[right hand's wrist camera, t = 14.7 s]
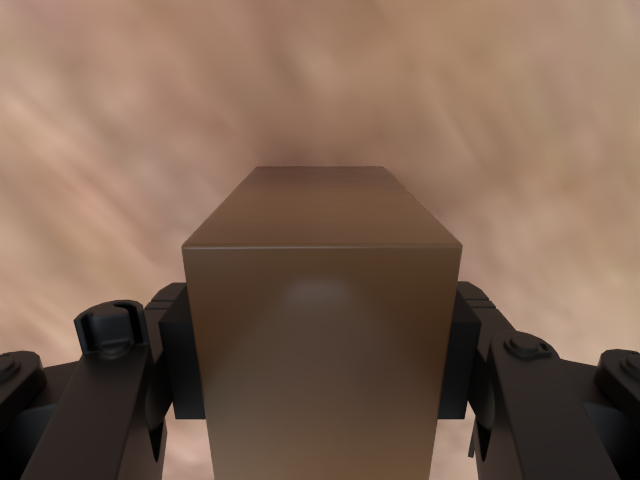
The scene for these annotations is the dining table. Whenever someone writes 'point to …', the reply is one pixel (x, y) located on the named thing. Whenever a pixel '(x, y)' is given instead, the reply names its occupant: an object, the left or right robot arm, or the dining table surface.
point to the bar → (321, 325)
